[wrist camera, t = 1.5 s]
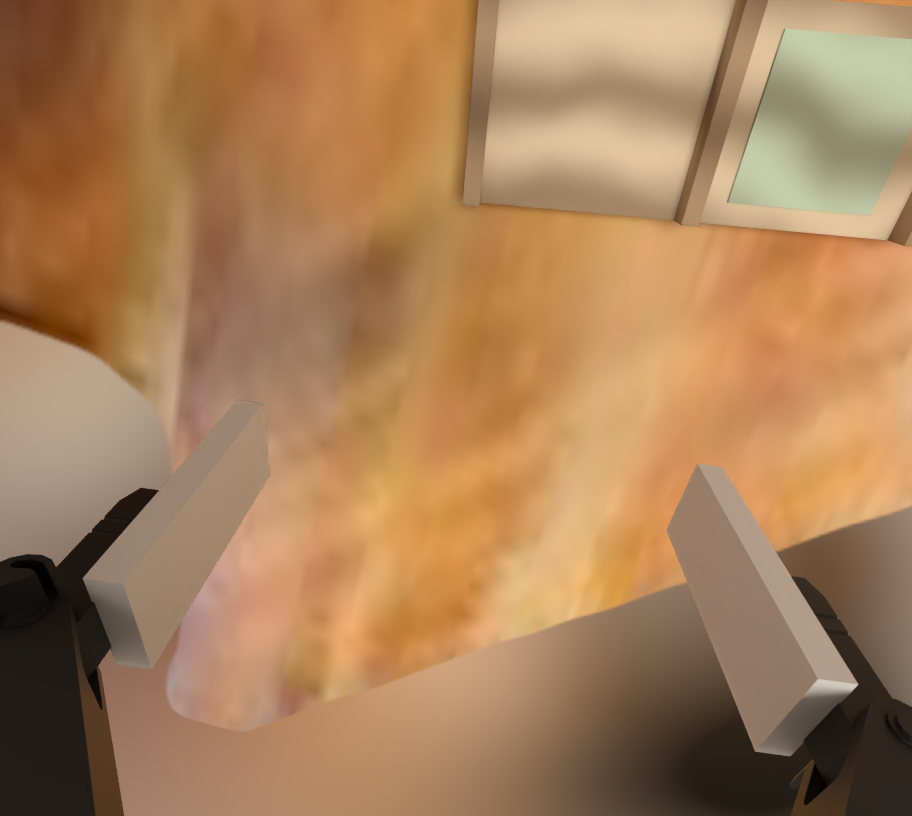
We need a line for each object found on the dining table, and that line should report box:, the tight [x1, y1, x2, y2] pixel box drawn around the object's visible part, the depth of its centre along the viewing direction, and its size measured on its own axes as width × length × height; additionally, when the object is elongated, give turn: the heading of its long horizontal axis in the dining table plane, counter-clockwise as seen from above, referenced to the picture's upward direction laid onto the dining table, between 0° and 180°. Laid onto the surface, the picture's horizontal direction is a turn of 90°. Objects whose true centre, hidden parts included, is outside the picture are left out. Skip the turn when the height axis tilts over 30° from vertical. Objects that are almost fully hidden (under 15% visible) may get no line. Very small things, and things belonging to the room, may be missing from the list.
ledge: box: [463, 0, 912, 246], centre depth 28 cm, size 11×40×4 cm, turn 86°
